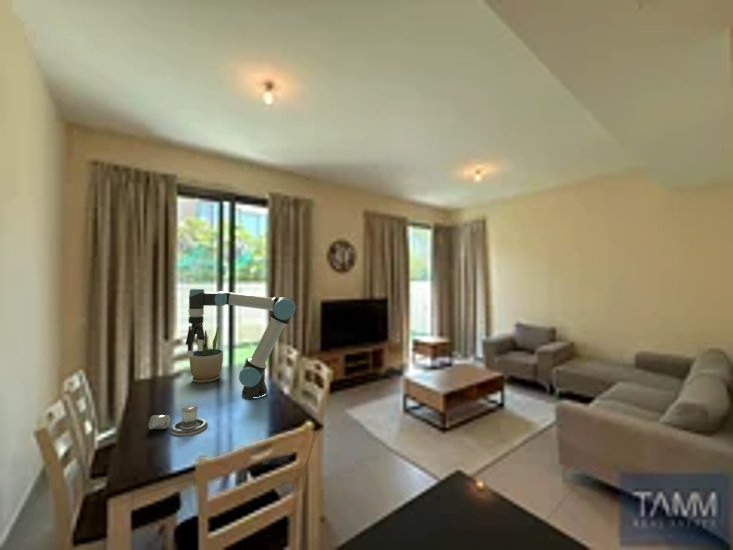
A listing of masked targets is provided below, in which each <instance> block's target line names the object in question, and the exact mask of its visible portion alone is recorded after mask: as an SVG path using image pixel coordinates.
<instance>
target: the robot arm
mask: <svg viewBox="0 0 733 550" xmlns="http://www.w3.org/2000/svg"><path fill="white" fill-rule="evenodd" d="M226 305H228V306H237V307H243V308H244V307H245V308H252V309H259V310H267V311H271V313H270V314H269V319H270V321H269V323H268V324H267V327H266V329H265V330H264V332H263V334H262V336H261V338H260V340H259V341H258V344H257V346H256V348H255V350H254V351H253V354H252V355H251V356H250V357H246V358H245V361H244V362H245V363H244V366H242V369H241V370H240V371H239V374H238V375H239V376H238V380H239V382H240V383H241V384H242V385H243V387H242V391H241V397H242V398H243V397H245V398H244V399H246V398H253V397H259V396H262V395H264V394H266V393H267V394H268V387H267V384H266V368H267V361H268V359H269V357H270V355H271V353H272V351H273V349H274V347H275V345H276V344H277V341H278V339H279V337H280V336H281V333H282V332H283V330H284V327H285V326H288V325H289V324H290V321H291V319H292V317H293V316H294V314H295V313H296V311H297V310H296V309H297V304H296V301H295V300H294V299H293V298H291V297H286V296H284V297H282V296H274V297H266V296H259V295H254V294H253V295H252V294H244V293H238V292H237V293H236V292H229V291H225V290H220V291H215V292H209V291H208V292H207V291H205V289H204V288H191V289H189V295H188V310H187V312H188V323H189V324H190V325H189V326H188V330H187V331H188V332H187V336H186V341H185V345H186V346H187V355H186V356H187V357H193V352H194V341H195V338H197V337H198V339H199V340H198V344H197V343H196V347H197V348H196V349H197V350H196V351H203V341H204V340H205V331H204V315H205V314H204V313H205V312H204V311H205V310H204V309H205V308H204V306H205V307H207V306H208V307H209V306H211V307H212V306H214V307H215V306H217V307H222V306H223V307H224V306H226ZM202 339H203V340H202Z"/></svg>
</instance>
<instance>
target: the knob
mask: <svg viewBox="0 0 733 550" xmlns="http://www.w3.org/2000/svg"><path fill="white" fill-rule="evenodd" d="M198 408H199V407H198V406H197V405H194V404H193V405H191V404H190V405H186V406H183V407H182V408H181V420H182V425H181V429H182V430H189V429H194V428H196V427H197V426H198V423H197V418H198Z"/></svg>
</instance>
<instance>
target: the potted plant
mask: <svg viewBox="0 0 733 550" xmlns="http://www.w3.org/2000/svg"><path fill="white" fill-rule="evenodd" d="M221 324H222V323H221V322H220V323H219V324H218V325H217V328H216V332H215V334H214V337H213V340H212V348H208V333H207V330H206V329H205V331H204V336H205V337H204V338H205V339H202V340H203V351H197V350H193V357H189V368H190V372H191V375H192V381H193V382H194V383H196V382H197V383H198V384H207V383H206V382H208V383H212V381H213V382H216V381H217V379H218V380H219V379H220V378H221V370H222V365H223V360H224V359H223V358H224V351H223V350H222V349H220V348H217V344H218V343H217V342H218V334H219V328H220V325H221ZM198 340H199V339H198V337H197V336H196V340H195V341H196V345H197V344H198ZM215 380H216V381H215ZM197 383H196V384H197Z"/></svg>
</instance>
